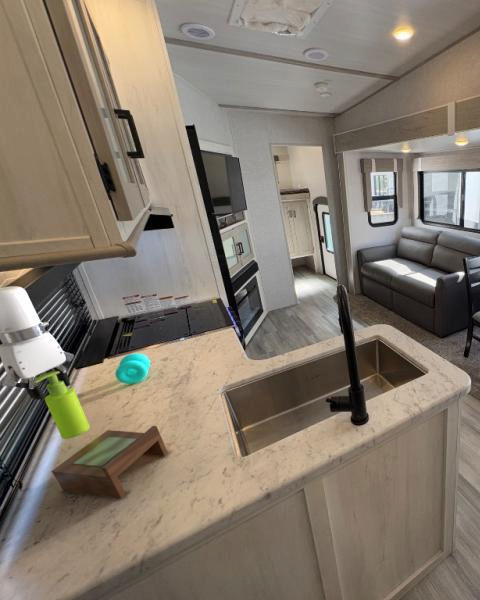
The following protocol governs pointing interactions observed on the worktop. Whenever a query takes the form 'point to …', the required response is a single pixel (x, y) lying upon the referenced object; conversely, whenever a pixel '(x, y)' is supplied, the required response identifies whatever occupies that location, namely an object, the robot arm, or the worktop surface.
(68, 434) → the soap dispenser
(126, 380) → the turquoise spool
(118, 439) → the wooden picture frame
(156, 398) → the worktop surface
